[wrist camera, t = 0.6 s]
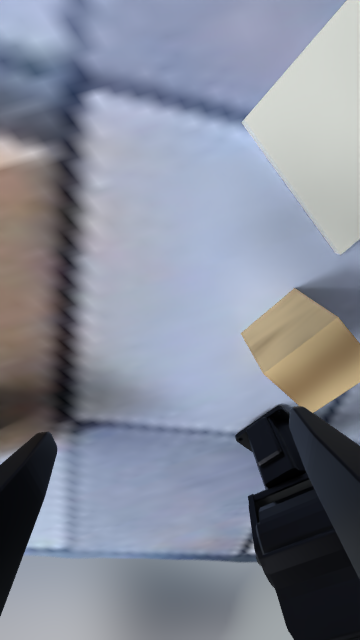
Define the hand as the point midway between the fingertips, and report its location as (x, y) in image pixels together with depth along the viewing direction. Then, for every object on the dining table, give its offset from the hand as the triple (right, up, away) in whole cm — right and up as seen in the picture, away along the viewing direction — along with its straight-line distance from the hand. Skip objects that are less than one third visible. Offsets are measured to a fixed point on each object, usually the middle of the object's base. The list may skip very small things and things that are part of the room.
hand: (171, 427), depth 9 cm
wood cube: (+10, +3, +14) cm, 17 cm away
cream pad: (+13, +17, +7) cm, 22 cm away
